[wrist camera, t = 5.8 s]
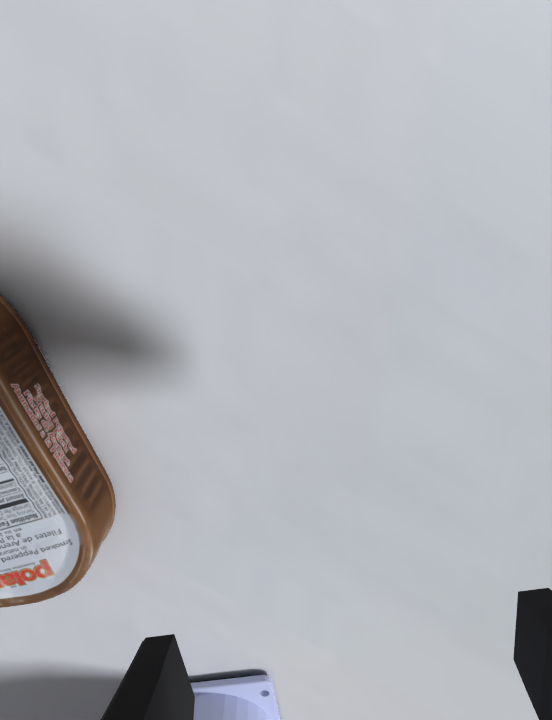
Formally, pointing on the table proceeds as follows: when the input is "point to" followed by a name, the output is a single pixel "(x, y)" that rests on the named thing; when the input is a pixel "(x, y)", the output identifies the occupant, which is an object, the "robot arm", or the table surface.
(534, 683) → the robot arm
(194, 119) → the table surface
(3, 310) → the tin
